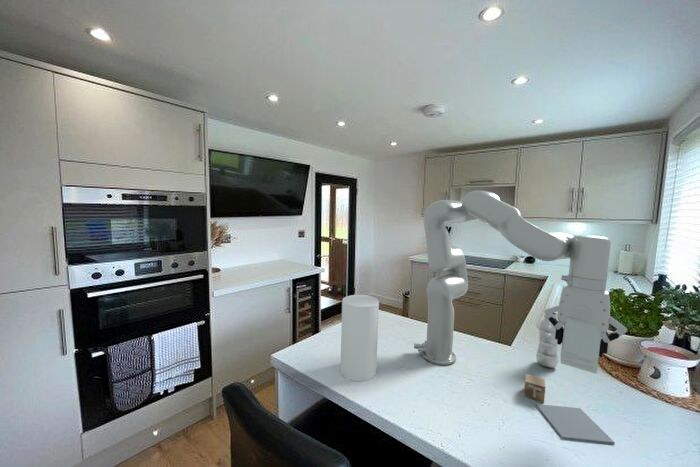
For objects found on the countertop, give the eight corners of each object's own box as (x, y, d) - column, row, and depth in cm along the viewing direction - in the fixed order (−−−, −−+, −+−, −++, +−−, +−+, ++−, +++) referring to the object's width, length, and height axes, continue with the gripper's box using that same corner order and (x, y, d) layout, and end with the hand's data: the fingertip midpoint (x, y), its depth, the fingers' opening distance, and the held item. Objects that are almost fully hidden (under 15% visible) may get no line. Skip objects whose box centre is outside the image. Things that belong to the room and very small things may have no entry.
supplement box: (597, 374, 69) (603, 325, 68) (559, 363, 74) (565, 317, 73) (595, 362, 75) (600, 316, 74) (560, 352, 80) (565, 309, 79)
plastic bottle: (561, 371, 101) (566, 317, 99) (540, 368, 102) (544, 315, 100) (552, 362, 107) (556, 311, 105) (532, 359, 108) (536, 309, 107)
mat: (562, 438, 70) (562, 436, 70) (535, 405, 82) (536, 404, 82) (614, 444, 69) (614, 442, 69) (580, 409, 81) (580, 408, 81)
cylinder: (353, 357, 106) (355, 292, 104) (382, 368, 99) (385, 299, 97) (332, 372, 96) (334, 300, 94) (363, 386, 89) (366, 309, 87)
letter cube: (524, 397, 86) (525, 381, 86) (524, 388, 91) (525, 373, 90) (543, 403, 83) (545, 387, 83) (543, 394, 88) (544, 378, 87)
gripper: (542, 279, 76) (537, 341, 78) (633, 294, 64) (625, 368, 65) (549, 275, 81) (543, 333, 83) (634, 288, 69) (626, 357, 70)
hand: (579, 348), depth 74 cm, fingers closed on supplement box, 8 cm apart
